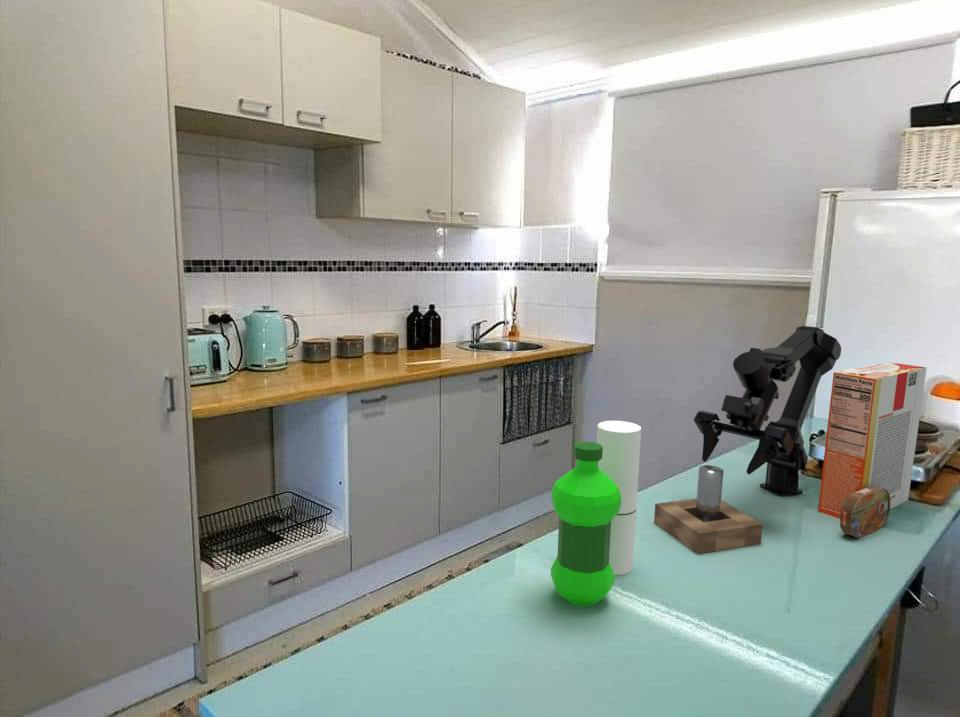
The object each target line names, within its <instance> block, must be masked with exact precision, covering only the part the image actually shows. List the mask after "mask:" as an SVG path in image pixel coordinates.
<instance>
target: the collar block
mask: <svg viewBox="0 0 960 717" xmlns="http://www.w3.org/2000/svg"><path fill="white" fill-rule="evenodd" d="M696 501H697V497H696V498H689V499H683V500H681V499H680V500H673V501H667V502H661V503H655V504H654V517H653V523H654V524H655V525H656V526H658V527H659V528H661V529H662V530H664V531H665V532H666V533H668V534H669V535H670V536H672V537H673V538H675V539H676V541H677V540H678V541H679V542H680V543H681V544H683V545H685V547H687V548H688V549H690V550H691V551H693V552H694V553H695V554H697V555H701V554H706V553H707V554H708V553H713V552H719V551H721V552H722V551H725V550H733V549H738V548H745V547H750V546H755V545H756V546H757V545H761V544H762V534H763V525H764V524H763V522H760V521H758V520H756V519H755V518H753V517H751V516H749V515H748V514H746V513H744V512H743V511H741V510H739V509H738V508H735V507H734V506H733V505H731V504H728V503H726V502H725V501H723V500H721V506H720V517H719V520H717V521H710V522H702V521H701V520H699V519H698V518H696V517H695V513H696Z"/></svg>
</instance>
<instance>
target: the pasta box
mask: <svg viewBox="0 0 960 717" xmlns="http://www.w3.org/2000/svg"><path fill="white" fill-rule="evenodd" d="M926 375H927V367H926V366H918V365H911V364H905V363H898V362H892V361H883V362H878V363H877V362H876V363H873V364H867V365H862V366H858V367H853V368H847V369H843V370H838V371H834V372H833V375H832V376H833V377H832V383H831V384H832V385H831V391H830V392H831V393H830V394H831V395H830V400H829V401H830V402H829V410H828V411H829V412H828V420H827V428H826V437H825V446H824V455H823V463H822V472H821V483H820V489H819V498H818V507H817V512H819V513H822V514H826V515H828V516H830V517H832V518H837V519H839V520H840V515H841V506H842V504H843V502H844V500H845V498H846V497H847V496H848V495H850V494H852V493H854V492H857V491H859V490H862V489H864V488H866V487H869V486H874V487H878V488H884V489H886V490H887V491H888V493H889V495H890V510H891V509H893V508H895V507H897V506H899V505H902V504H903V503H905V502H908V501H909V496H910V491H911V490H910V489H911V482H912V474H913V468H914V459H915V453H916V446H917V439H918V430H919V426H920V425H919V424H920V418H921V412H922V411H921V410H922V403H923V395H924V389H925V383H926V382H925V381H926Z"/></svg>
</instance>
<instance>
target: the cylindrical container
mask: <svg viewBox="0 0 960 717" xmlns="http://www.w3.org/2000/svg"><path fill="white" fill-rule="evenodd" d="M596 432H597V433H596V434H597V435H596V443H598V444H601V446H602V447H603V452H602V459H601V460H599V461H598V468H599V469H600V470H602V471H603V472H604V473H605V474H606V475H607V476H608V477H609V478H610V479H611V480H612V481H613V482H614V483H615V485H616V486H617V487H618V489H619V492H620V495H621V506H620V509H619V513H618V514H617V515H616V516H615V517H614V518H613V519H612V520H611V532H610V551H609V564H610V566H611V568H612V570H613V573H614V576H622V575H623V576H624V575H627V574H629V573H631V572H632V571H633V568H634V554H635V550H634V549H635V536H636V522H637V520H636V518H637V504H638V491H639V490H638V489H639V488H638V487H639V486H638V485H639V471H640V470H639V469H640V456H641V455H640V452H641V440H642V439H641V438H642V426H641V425H639V424H637V423H634V422H631V421H624V420H605V421H601V422H598V424H597V430H596Z"/></svg>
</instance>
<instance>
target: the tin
mask: <svg viewBox="0 0 960 717" xmlns="http://www.w3.org/2000/svg"><path fill="white" fill-rule="evenodd" d="M890 510H891V509H890V495H889V493H888V491H887V490H886V489H884V488H878V487H874V486H869V487H866V488H864V489H862V490H859V491H857V492H854V493H852V494H850V495H848V496H847V497H846V498H845V500H844V502H843V504H842V506H841V515H840V519H839V520H840V521H839V527H840V529H841V532H842V533H844V534H846V535H848V536H850V537H854V538H856V539H862V538H864V537H866V536H868V535H870V534H872V533H874V532H877V531H878V530H880V529H882V528H883V526H885V524H886V522H887V520H888V517H889V515H890Z"/></svg>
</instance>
